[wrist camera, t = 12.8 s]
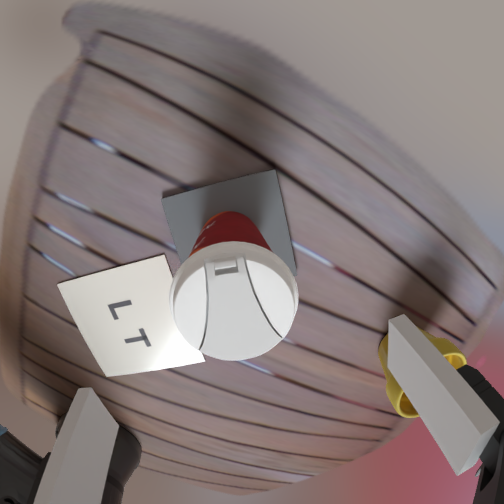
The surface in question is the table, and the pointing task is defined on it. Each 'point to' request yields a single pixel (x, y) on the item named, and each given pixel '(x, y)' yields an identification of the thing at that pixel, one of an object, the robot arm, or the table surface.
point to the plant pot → (392, 387)
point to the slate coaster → (231, 199)
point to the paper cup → (233, 291)
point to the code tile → (129, 318)
